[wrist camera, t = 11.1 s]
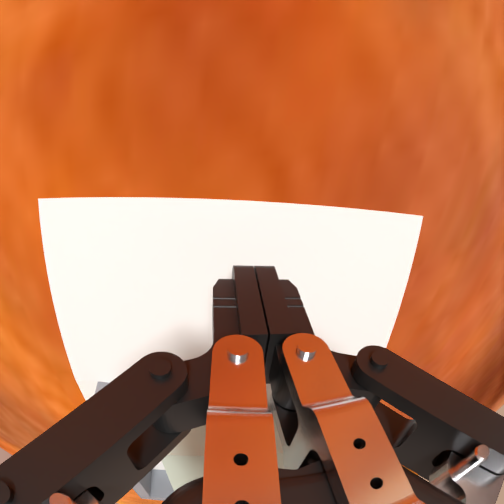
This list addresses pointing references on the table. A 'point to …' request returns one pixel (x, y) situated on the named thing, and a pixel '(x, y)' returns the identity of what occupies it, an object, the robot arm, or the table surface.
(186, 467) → the grey rectangular block
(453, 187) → the table surface
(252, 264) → the loading dock
